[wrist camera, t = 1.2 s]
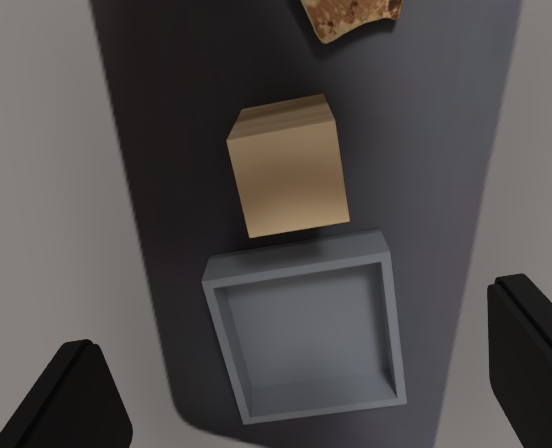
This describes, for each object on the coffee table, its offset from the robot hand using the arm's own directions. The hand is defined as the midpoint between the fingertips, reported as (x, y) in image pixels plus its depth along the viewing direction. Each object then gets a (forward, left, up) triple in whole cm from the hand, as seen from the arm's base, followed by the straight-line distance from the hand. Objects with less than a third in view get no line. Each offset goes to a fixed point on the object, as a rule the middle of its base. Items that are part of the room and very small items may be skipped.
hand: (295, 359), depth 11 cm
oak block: (0, 0, -20) cm, 20 cm away
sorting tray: (+13, -1, -20) cm, 24 cm away
